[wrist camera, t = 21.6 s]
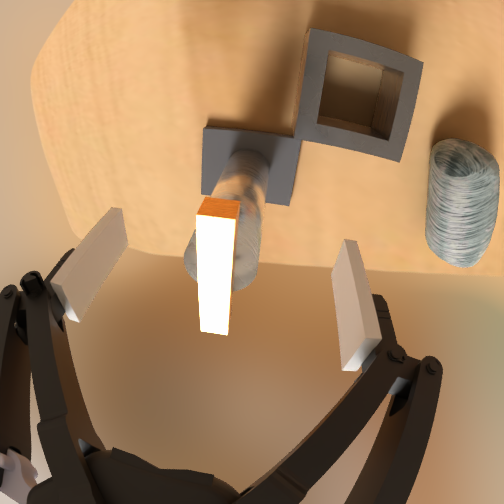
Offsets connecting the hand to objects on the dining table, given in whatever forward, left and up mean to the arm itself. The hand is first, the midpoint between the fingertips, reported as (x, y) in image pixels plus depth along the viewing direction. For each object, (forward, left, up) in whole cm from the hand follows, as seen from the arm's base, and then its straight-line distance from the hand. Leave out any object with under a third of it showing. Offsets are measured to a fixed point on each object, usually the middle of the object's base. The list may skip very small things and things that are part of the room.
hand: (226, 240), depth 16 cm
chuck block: (-9, +8, -13) cm, 18 cm away
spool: (-2, +22, -14) cm, 26 cm away
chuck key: (0, 0, -12) cm, 12 cm away
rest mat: (0, 0, -13) cm, 13 cm away
